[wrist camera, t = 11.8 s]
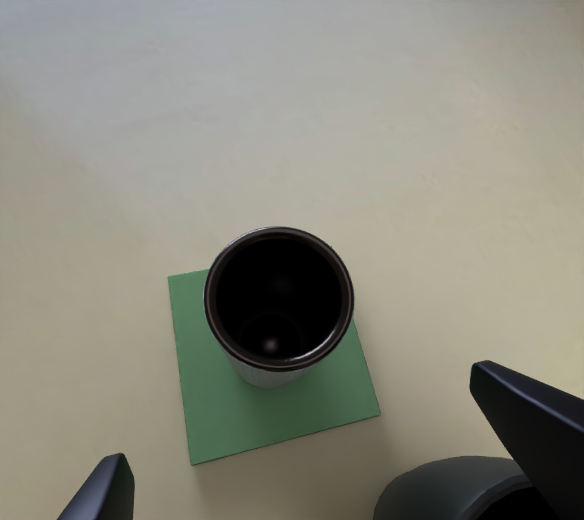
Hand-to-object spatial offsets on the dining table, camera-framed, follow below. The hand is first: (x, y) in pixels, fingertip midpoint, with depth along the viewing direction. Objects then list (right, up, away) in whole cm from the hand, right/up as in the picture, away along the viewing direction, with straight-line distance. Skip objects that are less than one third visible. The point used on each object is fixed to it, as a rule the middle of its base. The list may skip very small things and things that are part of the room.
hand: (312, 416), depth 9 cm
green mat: (-2, -1, +12) cm, 12 cm away
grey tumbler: (-2, -1, +11) cm, 12 cm away
